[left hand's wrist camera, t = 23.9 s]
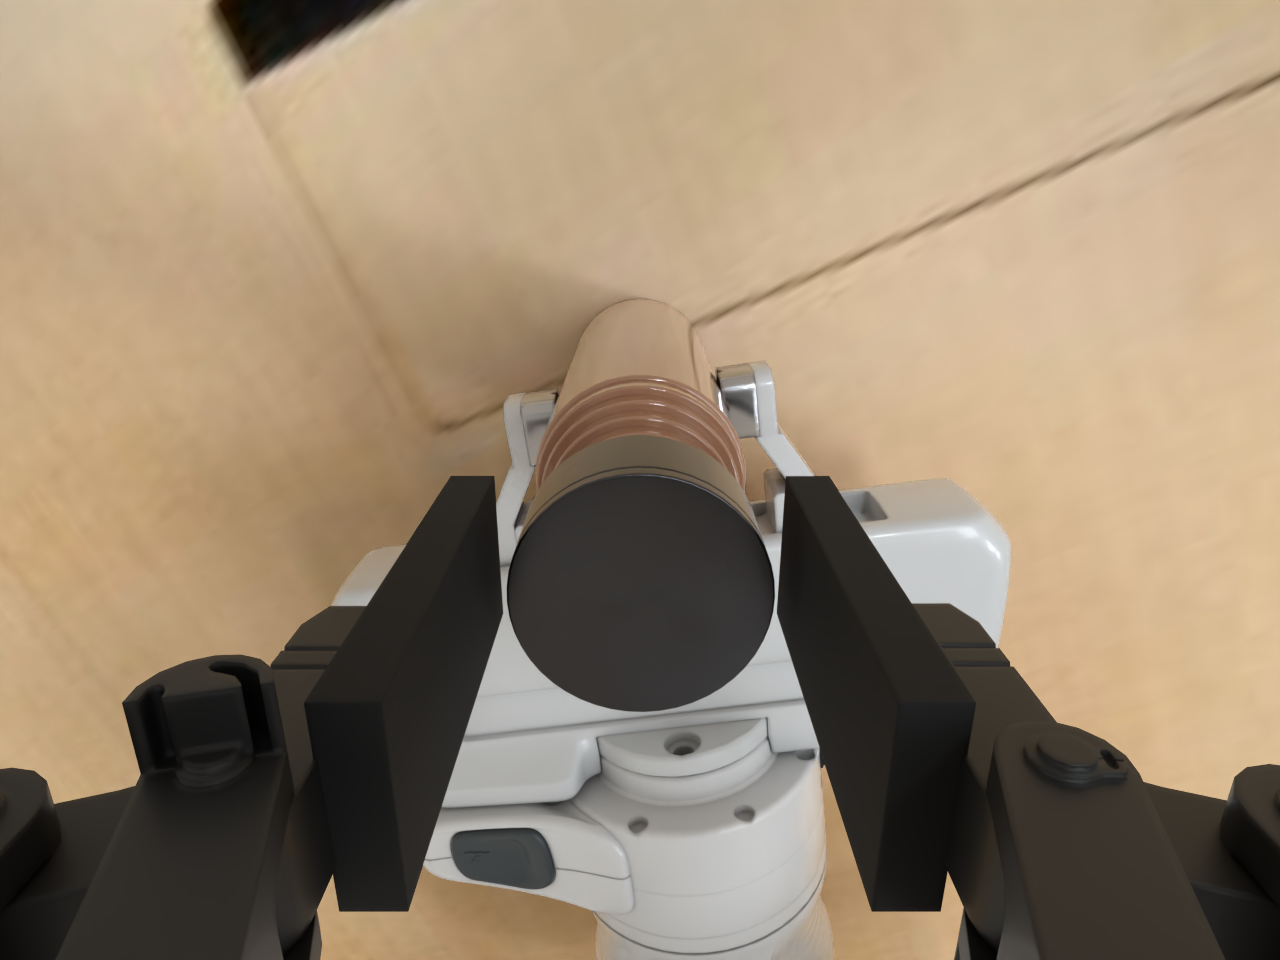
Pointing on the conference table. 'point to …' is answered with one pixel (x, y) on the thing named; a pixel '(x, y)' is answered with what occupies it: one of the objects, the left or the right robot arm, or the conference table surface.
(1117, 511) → the conference table surface
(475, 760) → the right robot arm
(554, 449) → the bottle
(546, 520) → the cap
